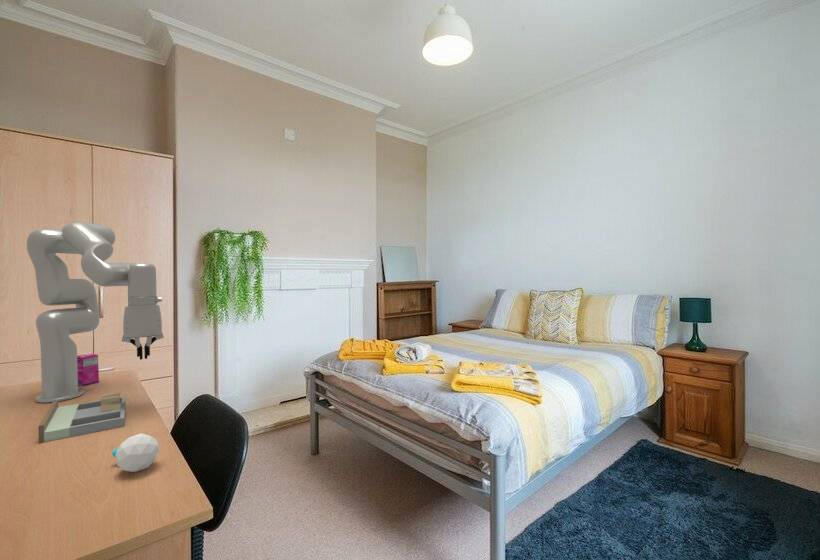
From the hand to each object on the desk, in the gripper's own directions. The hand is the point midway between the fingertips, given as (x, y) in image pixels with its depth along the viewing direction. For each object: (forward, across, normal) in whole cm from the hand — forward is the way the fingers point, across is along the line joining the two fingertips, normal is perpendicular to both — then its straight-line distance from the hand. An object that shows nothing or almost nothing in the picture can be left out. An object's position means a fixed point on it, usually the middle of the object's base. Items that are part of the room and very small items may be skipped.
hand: (143, 358), depth 122 cm
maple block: (+15, +8, 0) cm, 17 cm away
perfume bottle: (+17, +3, +42) cm, 45 cm away
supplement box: (+17, +18, -50) cm, 55 cm away
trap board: (+17, +14, 0) cm, 22 cm away
